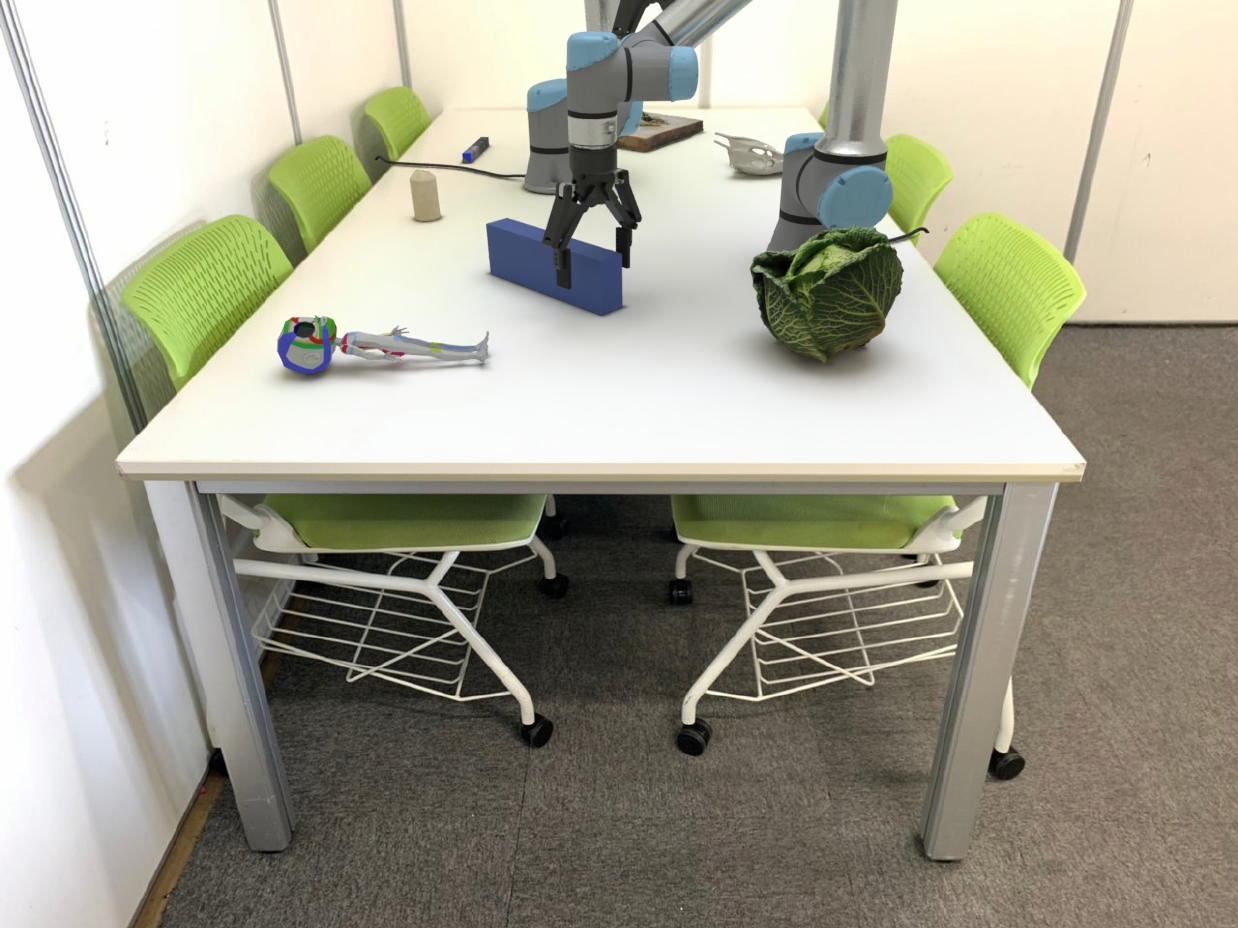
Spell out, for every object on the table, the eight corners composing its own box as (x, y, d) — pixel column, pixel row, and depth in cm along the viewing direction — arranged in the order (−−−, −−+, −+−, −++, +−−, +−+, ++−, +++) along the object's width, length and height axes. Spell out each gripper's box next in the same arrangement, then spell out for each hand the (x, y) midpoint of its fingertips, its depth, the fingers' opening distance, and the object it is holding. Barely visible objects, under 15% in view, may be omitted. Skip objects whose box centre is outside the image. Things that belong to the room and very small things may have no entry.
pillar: (488, 137, 250) (469, 154, 234) (489, 145, 251) (470, 162, 235) (480, 137, 251) (461, 154, 234) (481, 145, 252) (462, 162, 235)
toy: (488, 343, 128) (268, 326, 123) (485, 396, 132) (272, 381, 127) (490, 315, 136) (284, 298, 132) (486, 366, 141) (287, 351, 136)
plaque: (647, 125, 237) (559, 112, 252) (647, 153, 241) (560, 139, 256) (706, 107, 258) (622, 97, 273) (705, 133, 262) (622, 121, 277)
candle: (445, 214, 196) (439, 168, 191) (432, 222, 192) (426, 174, 186) (423, 212, 198) (416, 166, 192) (410, 220, 193) (403, 172, 188)
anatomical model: (715, 128, 226) (816, 127, 222) (715, 166, 231) (813, 165, 227) (712, 142, 213) (818, 141, 210) (711, 181, 218) (815, 181, 215)
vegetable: (780, 374, 144) (722, 268, 136) (876, 307, 145) (825, 198, 137) (841, 402, 125) (779, 281, 118) (951, 325, 127) (897, 200, 119)
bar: (490, 273, 165) (485, 223, 160) (511, 266, 168) (507, 217, 163) (601, 315, 148) (600, 261, 143) (622, 307, 151) (622, 253, 146)
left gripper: (622, -51, 150) (624, 84, 161) (711, -58, 165) (707, 66, 177) (589, -53, 154) (593, 80, 165) (679, -59, 169) (677, 62, 181)
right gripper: (548, 162, 128) (553, 302, 139) (665, 135, 143) (661, 263, 154) (514, 153, 132) (522, 290, 143) (631, 128, 147) (629, 253, 159)
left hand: (652, 73), depth 171 cm, fingers open, 13 cm apart
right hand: (594, 276), depth 149 cm, fingers open, 13 cm apart
